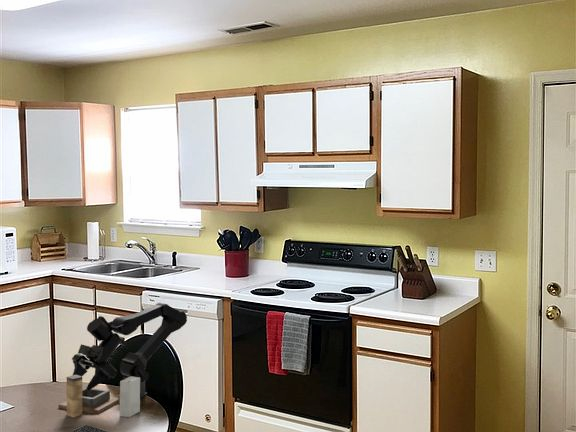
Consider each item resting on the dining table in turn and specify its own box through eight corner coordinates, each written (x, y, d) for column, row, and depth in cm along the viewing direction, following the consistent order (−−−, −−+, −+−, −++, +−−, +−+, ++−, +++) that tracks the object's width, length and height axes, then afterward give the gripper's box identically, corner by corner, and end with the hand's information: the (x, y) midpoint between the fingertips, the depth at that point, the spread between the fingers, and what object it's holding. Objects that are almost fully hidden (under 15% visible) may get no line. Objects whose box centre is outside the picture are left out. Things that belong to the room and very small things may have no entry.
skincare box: (129, 410, 225) (129, 375, 224) (140, 412, 223) (140, 377, 222) (118, 416, 219) (118, 380, 218) (130, 418, 217) (130, 382, 217)
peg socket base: (119, 401, 233) (119, 390, 233) (98, 413, 221) (98, 401, 220) (81, 396, 238) (81, 385, 238) (58, 408, 226) (58, 396, 225)
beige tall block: (75, 412, 222) (75, 374, 221) (82, 414, 220) (82, 376, 219) (66, 415, 219) (66, 376, 218) (73, 417, 217) (72, 379, 216)
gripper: (76, 331, 230) (48, 368, 221) (109, 339, 218) (81, 379, 210) (95, 348, 236) (68, 386, 228) (128, 358, 225) (101, 397, 217)
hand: (79, 386), depth 220 cm, fingers open, 9 cm apart
